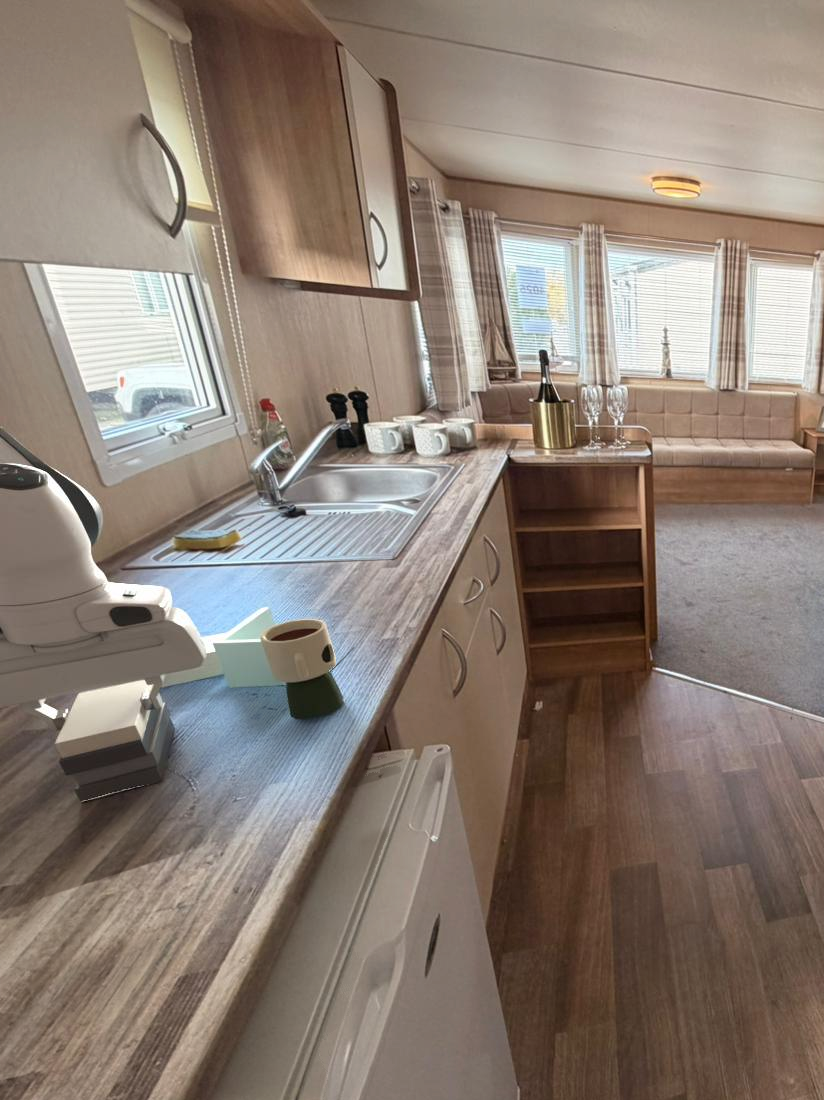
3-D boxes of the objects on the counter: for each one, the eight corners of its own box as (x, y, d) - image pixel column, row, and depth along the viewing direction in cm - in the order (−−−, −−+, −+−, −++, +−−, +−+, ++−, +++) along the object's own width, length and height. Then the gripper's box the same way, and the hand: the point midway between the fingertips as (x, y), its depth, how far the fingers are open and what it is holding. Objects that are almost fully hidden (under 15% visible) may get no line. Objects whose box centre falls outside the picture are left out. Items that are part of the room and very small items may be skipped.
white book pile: (123, 695, 91) (112, 671, 89) (130, 675, 96) (120, 652, 94) (235, 672, 98) (226, 649, 96) (237, 654, 103) (229, 632, 101)
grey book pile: (163, 781, 76) (144, 740, 74) (81, 804, 72) (58, 761, 70) (175, 727, 85) (159, 689, 83) (103, 744, 81) (83, 705, 79)
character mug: (352, 722, 88) (328, 639, 83) (288, 739, 84) (258, 653, 79) (345, 686, 96) (323, 609, 91) (286, 700, 92) (260, 620, 87)
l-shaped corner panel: (318, 684, 96) (305, 640, 93) (229, 687, 94) (212, 643, 91) (355, 645, 107) (344, 605, 104) (275, 648, 105) (262, 607, 102)
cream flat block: (141, 739, 74) (135, 725, 73) (61, 758, 70) (54, 743, 69) (155, 691, 82) (150, 678, 81) (85, 706, 79) (78, 693, 78)
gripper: (-102, 648, 62) (-32, 761, 68) (180, 603, 74) (219, 703, 79) (-76, 623, 67) (-13, 731, 72) (185, 585, 78) (222, 681, 84)
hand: (110, 716), depth 76 cm, fingers closed on cream flat block, 6 cm apart
